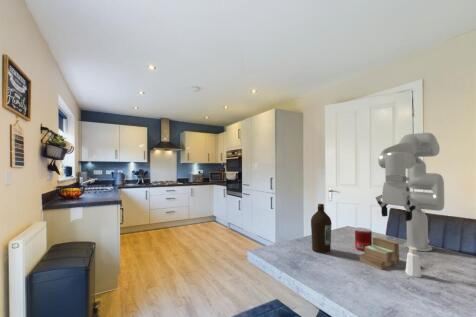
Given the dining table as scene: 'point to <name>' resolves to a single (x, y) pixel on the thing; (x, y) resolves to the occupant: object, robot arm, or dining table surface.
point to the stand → (381, 253)
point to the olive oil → (321, 231)
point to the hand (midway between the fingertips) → (396, 218)
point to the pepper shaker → (413, 263)
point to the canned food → (363, 238)
